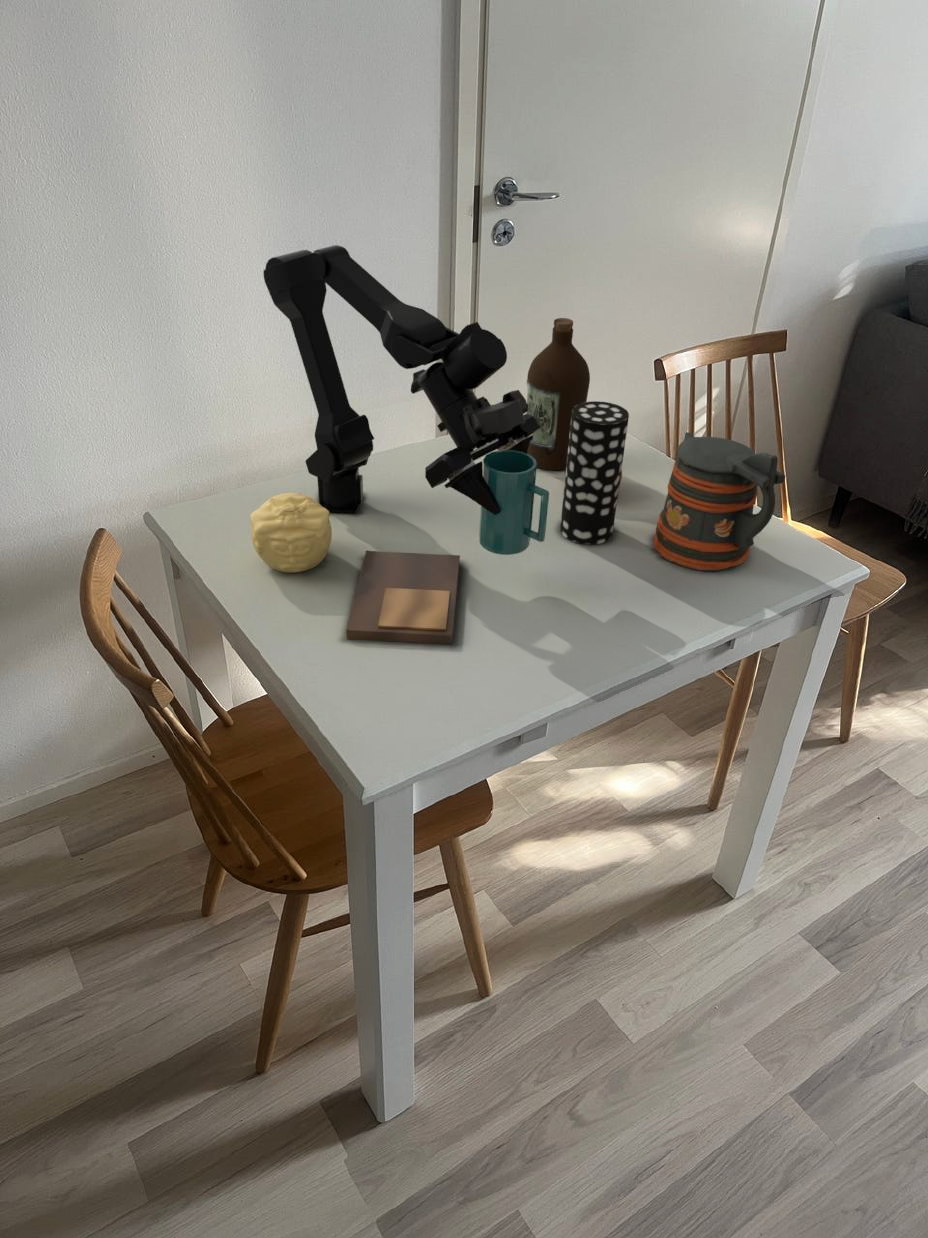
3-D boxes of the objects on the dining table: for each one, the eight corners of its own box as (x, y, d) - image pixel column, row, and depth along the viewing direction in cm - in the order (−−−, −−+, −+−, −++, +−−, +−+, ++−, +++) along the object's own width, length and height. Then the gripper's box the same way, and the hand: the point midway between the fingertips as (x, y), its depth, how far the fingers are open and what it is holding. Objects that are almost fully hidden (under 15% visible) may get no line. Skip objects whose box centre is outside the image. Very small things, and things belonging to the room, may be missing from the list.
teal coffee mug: (469, 542, 136) (472, 461, 129) (500, 523, 140) (505, 444, 133) (526, 569, 131) (533, 487, 123) (557, 549, 135) (565, 468, 128)
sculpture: (254, 585, 138) (246, 519, 131) (256, 541, 147) (248, 478, 141) (334, 580, 139) (331, 515, 133) (331, 537, 149) (328, 475, 142)
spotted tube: (578, 549, 148) (592, 428, 136) (550, 524, 154) (561, 406, 142) (623, 537, 151) (640, 418, 140) (593, 513, 157) (607, 397, 146)
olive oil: (548, 440, 179) (559, 305, 165) (593, 459, 173) (609, 321, 159) (509, 457, 173) (518, 319, 158) (554, 478, 167) (567, 336, 152)
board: (346, 639, 128) (345, 628, 127) (366, 559, 144) (365, 548, 143) (451, 644, 128) (452, 633, 127) (459, 563, 144) (460, 553, 143)
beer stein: (791, 568, 145) (824, 447, 134) (724, 598, 138) (753, 472, 127) (699, 515, 158) (722, 400, 146) (633, 540, 151) (651, 421, 139)
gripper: (443, 396, 119) (508, 505, 120) (534, 357, 131) (592, 457, 131) (397, 435, 127) (458, 537, 128) (486, 395, 139) (541, 489, 140)
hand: (515, 503), depth 132 cm, fingers closed on teal coffee mug, 7 cm apart
